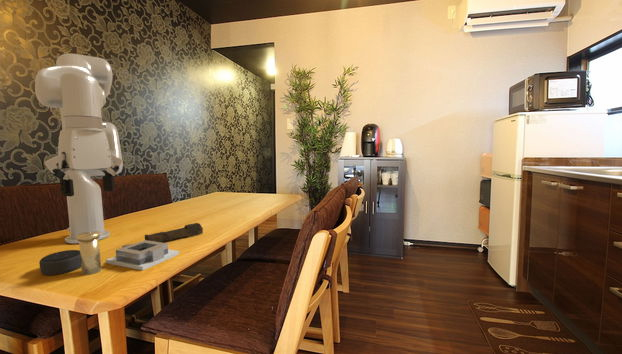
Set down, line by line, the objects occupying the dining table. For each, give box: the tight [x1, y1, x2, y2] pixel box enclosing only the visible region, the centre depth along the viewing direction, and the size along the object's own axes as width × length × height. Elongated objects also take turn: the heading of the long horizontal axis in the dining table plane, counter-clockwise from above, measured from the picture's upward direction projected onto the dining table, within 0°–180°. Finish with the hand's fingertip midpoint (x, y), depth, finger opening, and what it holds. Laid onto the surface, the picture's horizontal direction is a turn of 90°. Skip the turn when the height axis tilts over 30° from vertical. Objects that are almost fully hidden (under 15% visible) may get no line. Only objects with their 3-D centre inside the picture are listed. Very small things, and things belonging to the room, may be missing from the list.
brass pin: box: [76, 231, 102, 276], centre depth 74 cm, size 5×5×10 cm
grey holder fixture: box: [115, 239, 169, 265], centre depth 81 cm, size 14×9×3 cm, turn 69°
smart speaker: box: [38, 249, 81, 276], centre depth 76 cm, size 9×9×4 cm
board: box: [105, 248, 180, 271], centre depth 82 cm, size 14×12×1 cm
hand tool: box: [144, 222, 204, 243], centre depth 100 cm, size 19×4×5 cm, turn 132°
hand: (90, 193), depth 73 cm, fingers open, 9 cm apart
